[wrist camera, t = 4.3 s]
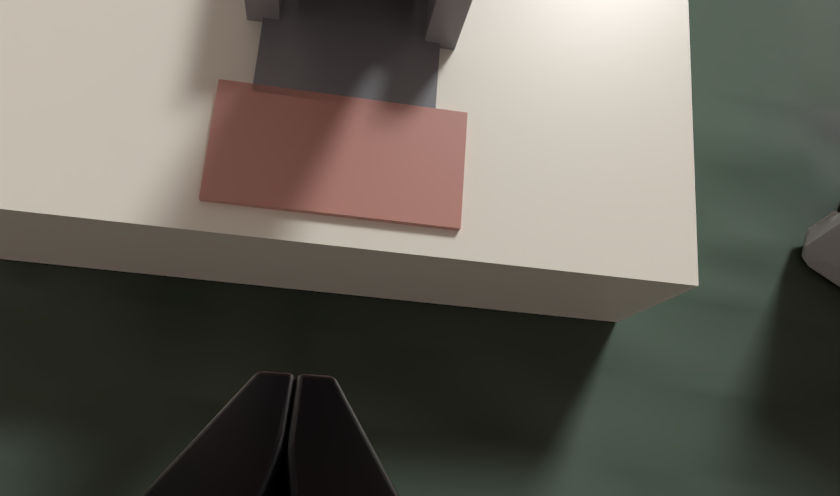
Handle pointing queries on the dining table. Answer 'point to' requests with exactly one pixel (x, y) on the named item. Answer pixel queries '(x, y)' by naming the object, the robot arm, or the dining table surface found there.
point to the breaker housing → (358, 147)
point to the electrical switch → (824, 247)
